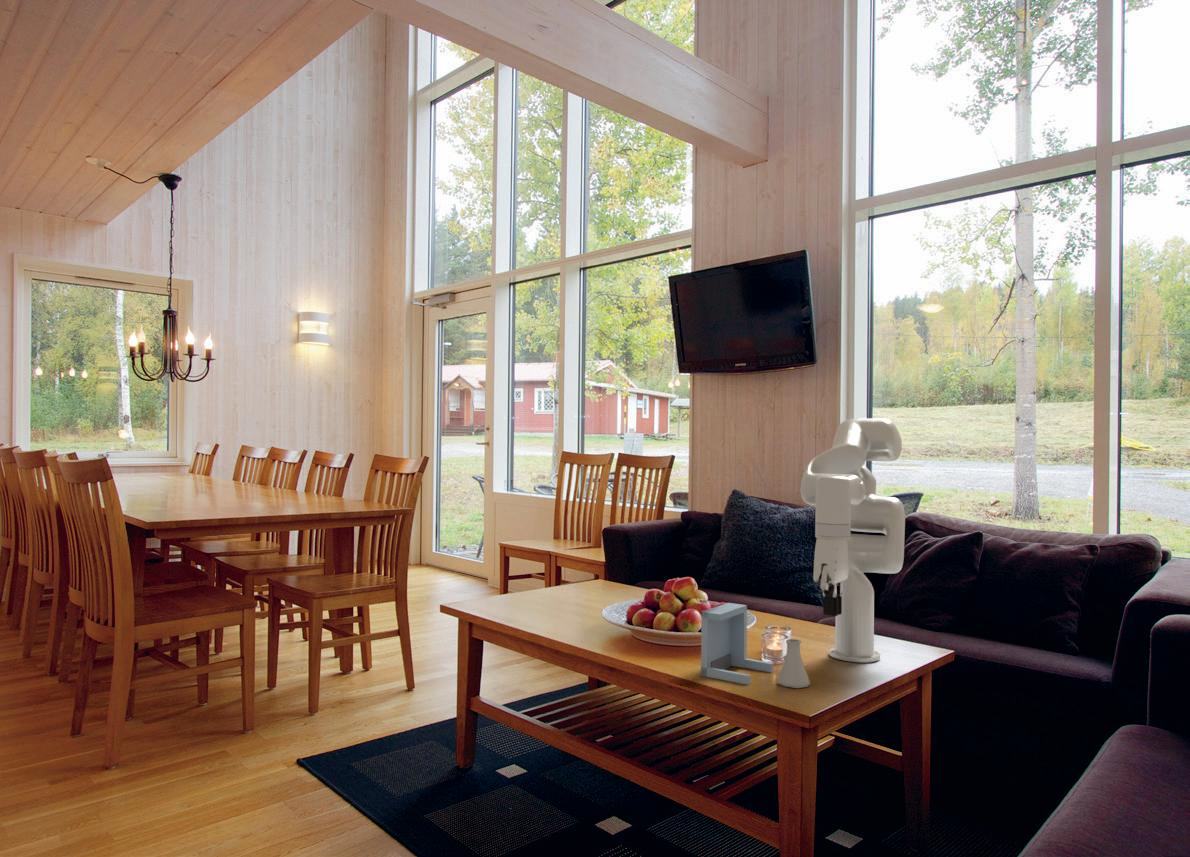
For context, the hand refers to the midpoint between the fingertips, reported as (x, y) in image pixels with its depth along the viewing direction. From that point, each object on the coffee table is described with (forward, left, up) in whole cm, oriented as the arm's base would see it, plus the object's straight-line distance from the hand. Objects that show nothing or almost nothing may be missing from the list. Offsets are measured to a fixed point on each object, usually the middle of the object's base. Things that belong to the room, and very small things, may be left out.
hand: (832, 613), depth 180 cm
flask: (0, -9, -17) cm, 20 cm away
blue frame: (0, -23, -17) cm, 29 cm away
